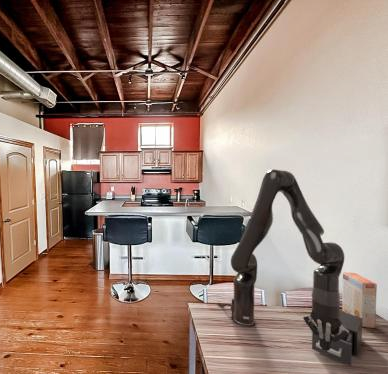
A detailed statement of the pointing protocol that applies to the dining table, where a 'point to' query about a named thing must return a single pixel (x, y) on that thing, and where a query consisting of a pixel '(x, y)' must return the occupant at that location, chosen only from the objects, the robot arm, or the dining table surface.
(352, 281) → the cracker box
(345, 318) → the dark grey box
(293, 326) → the dining table surface
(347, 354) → the drawer
